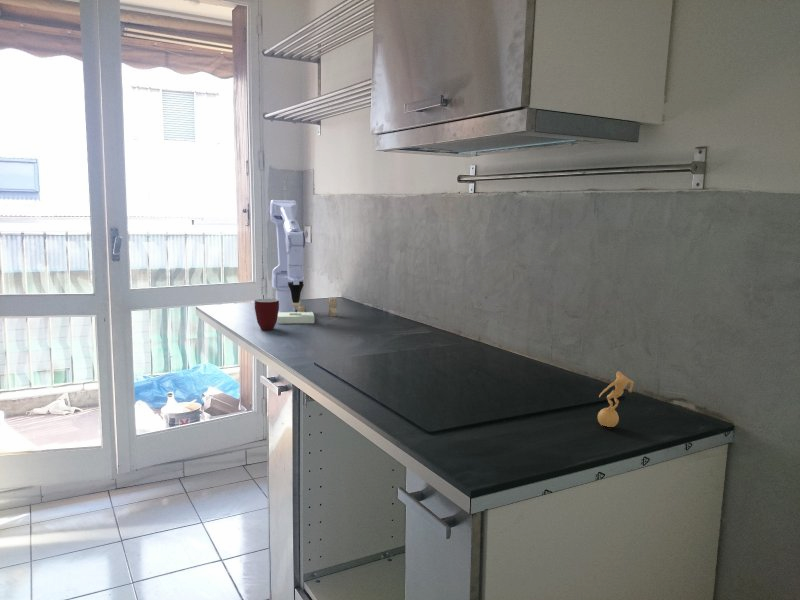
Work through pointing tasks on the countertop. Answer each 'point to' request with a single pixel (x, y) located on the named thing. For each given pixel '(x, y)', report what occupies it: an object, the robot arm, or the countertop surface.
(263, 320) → the mug
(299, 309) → the dowel short
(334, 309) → the dowel long
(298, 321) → the board
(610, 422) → the figurine
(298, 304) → the dowel medium
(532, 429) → the countertop surface
